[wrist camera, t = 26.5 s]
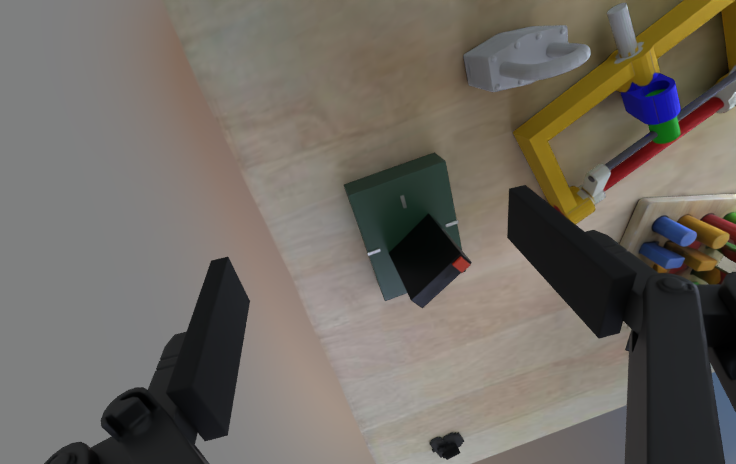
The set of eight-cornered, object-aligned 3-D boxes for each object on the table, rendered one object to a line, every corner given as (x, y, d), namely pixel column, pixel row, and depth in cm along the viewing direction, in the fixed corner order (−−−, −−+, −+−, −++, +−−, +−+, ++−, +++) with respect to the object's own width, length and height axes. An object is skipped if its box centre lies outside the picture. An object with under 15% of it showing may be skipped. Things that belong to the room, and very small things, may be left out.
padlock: (532, 19, 34) (617, 14, 25) (535, 64, 36) (616, 74, 27) (460, 48, 33) (522, 53, 25) (468, 91, 36) (527, 110, 27)
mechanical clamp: (850, 64, 36) (582, 250, 40) (775, 60, 41) (547, 224, 45) (864, -154, 27) (517, 116, 31) (766, -122, 32) (482, 104, 36)
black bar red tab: (398, 260, 40) (423, 310, 32) (388, 253, 39) (411, 302, 32) (438, 221, 38) (473, 264, 31) (428, 213, 38) (462, 254, 30)
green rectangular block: (342, 184, 37) (347, 196, 35) (435, 151, 38) (447, 161, 35) (378, 286, 45) (384, 302, 42) (456, 257, 45) (467, 271, 42)
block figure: (472, 456, 63) (443, 471, 64) (466, 443, 65) (438, 457, 66) (460, 441, 60) (431, 456, 60) (455, 427, 62) (426, 442, 63)
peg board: (638, 196, 46) (705, 227, 39) (745, 192, 50) (825, 219, 42) (592, 305, 54) (640, 348, 47) (686, 295, 58) (745, 333, 50)
